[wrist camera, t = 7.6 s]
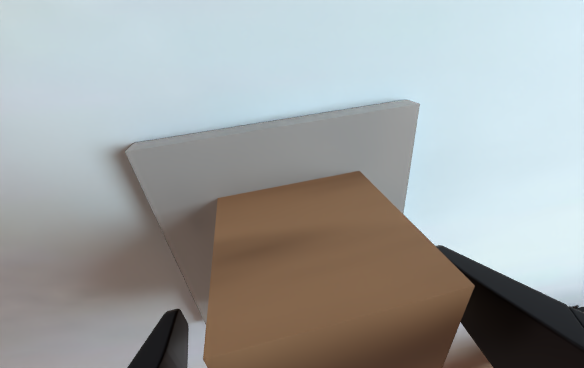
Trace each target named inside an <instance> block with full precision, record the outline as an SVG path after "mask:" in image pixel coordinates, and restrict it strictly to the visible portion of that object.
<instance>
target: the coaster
mask: <svg viewBox="0 0 584 368" xmlns="http://www.w3.org/2000/svg"><path fill="white" fill-rule="evenodd" d="M419 106H420V104H419V103H416V102H413V101H409V100H401V101H394V102H388V103H382V104H376V105H369V106H363V107H357V108H350V109H344V110H338V111H332V112H325V113H319V114H313V115H306V116H300V117H294V118H288V119H281V120H275V121H269V122H263V123H256V124H250V125H244V126H237V127H231V128H225V129H219V130H212V131H206V132H200V133H193V134H187V135H181V136H175V137H168V138H162V139H156V140H149V141H143V142H137V143H133V144H132V145H131V146H130V147H129V148H128V149H127V150H126V151H125V153H126V155H127V157H128V160H129V162H130V164H131V166H132V168H133V170H134V172H135V175H136V177H137V179H138V181H139V183H140V185H141V187H142V190H143V192H144V194H145V196H146V198H147V200H148V202H149V204H150V207H151V209H152V211H153V213H154V215H155V217H156V219H157V222H158V224H159V226H160V228H161V230H162V232H163V234H164V237H165V239H166V241H167V243H168V245H169V247H170V249H171V251H172V254H173V256H174V258H175V260H176V262H177V264H178V266H179V269H180V271H181V273H182V275H183V277H184V279H185V281H186V284H187V286H188V288H189V290H190V292H191V294H192V296H193V299H194V301H195V303H196V305H197V307H198V309H199V311H200V313H201V316H202V318H203V320H204V322H205V324H206V322H207V311H208V300H209V289H210V278H211V267H212V256H213V245H214V234H215V223H216V212H217V201H218V198H221V197H226V196H231V195H236V194H241V193H247V192H252V191H257V190H262V189H267V188H273V187H278V186H283V185H288V184H293V183H299V182H304V181H309V180H314V179H319V178H325V177H330V176H335V175H340V174H345V173H351V172H356V171H360V172H361V173H362V174H363V175H364V176H365V177H366V178H367V179H368V180H369V181H370V182H371V183H372V184H373V185H374V186H375V187H376V188H377V189H378V190H379V191H380V192H381V193H382V194H383V195H384V196H385V197H386V198H387V199H388V200H389V201H390V202H391V203H392V204H393V205H394V206H395V207H396V208H397V209H398V210H399V211H400V212H401V213H402V214H403V212H404V206H405V199H406V192H407V186H408V179H409V172H410V166H411V159H412V152H413V146H414V139H415V132H416V126H417V119H418V112H419Z"/></svg>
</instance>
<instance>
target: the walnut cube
mask: <svg viewBox="0 0 584 368" xmlns="http://www.w3.org/2000/svg"><path fill="white" fill-rule="evenodd" d="M474 287H475V285H474V284H473V283H472V282H471V281H470V280H469V279H468V278H467V277H466V276H465V275H464V274H463V273H462V272H461V271H460V270H459V269H458V268H457V267H456V266H455V265H454V264H453V263H452V262H451V261H450V260H449V259H448V258H447V257H446V256H445V255H444V254H443V253H442V252H441V251H440V250H439V249H438V248H437V247H436V246H435V245H434V244H433V243H432V242H431V241H430V240H429V239H428V238H427V237H426V236H425V235H424V234H423V233H422V232H421V231H419V230H418V229H417V228H416V227H415V226H414V225H413V224H412V223H411V222H410V221H409V220H408V219H407V218H406V217H405V216H404V215H403V214H402V213H401V212H400V211H399V210H398V209H397V208H396V207H395V206H394V205H393V204H392V203H391V202H390V201H389V200H388V199H387V198H386V197H385V196H384V195H383V194H382V193H381V192H380V191H379V190H378V189H377V188H376V187H375V186H374V185H373V184H372V183H371V182H370V181H369V180H368V179H367V178H366V177H365V176H364V175H363V174H362V173H361V172H360V171H356V172H351V173H345V174H340V175H335V176H330V177H325V178H319V179H314V180H309V181H304V182H299V183H293V184H288V185H283V186H278V187H273V188H267V189H262V190H257V191H252V192H247V193H241V194H236V195H231V196H226V197H221V198H218V201H217V212H216V223H215V234H214V245H213V256H212V267H211V278H210V289H209V300H208V311H207V322H206V334H205V345H204V356H203V360H204V362H205V364H206V366H207V367H208V368H442V367H443V364H444V362H445V359H446V357H447V354H448V352H449V349H450V347H451V344H452V342H453V339H454V337H455V334H456V332H457V329H458V327H459V324H460V322H461V319H462V317H463V314H464V312H465V309H466V307H467V304H468V302H469V299H470V297H471V294H472V292H473V289H474Z"/></svg>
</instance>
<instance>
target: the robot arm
mask: <svg viewBox="0 0 584 368" xmlns="http://www.w3.org/2000/svg"><path fill="white" fill-rule="evenodd" d="M436 247H437V248H438V249H439V250H440V251H441V252H442V253H443V254H444V255H445V256H446V257H447V258H448V259H449V260H450V261H451V262H452V263H453V264H454V265H455V266H456V267H457V268H458V269H459V270H460V271H461V272H462V273H463V274H464V275H465V276H466V277H467V278H468V279H469V280H470V281H471V282H472V283H473V284H474V285H475V287H474V289H473V292H472V294H471V297H470V299H469V302H468V304H467V307H466V309H465V312H464V314H463V317H462V319H461V323H462V325H463V326H464V328H465V329H466V330H467V332H468V333H469V334H470V336H471V337H472V339H473V340H474V341H475V343H476V344H477V346H478V347H479V348H480V350H481V351H482V352H483V354H484V355H485V357H486V358H487V359H488V361H489V362H490V363H491V365H492V366H493V368H584V307H580V308H577V309H575V308H572V307H570V306H569V307H568V306H567V305H566V304H564V303H562V302H560V301H558V300H555V299H553V298H551V297H549V296H547V295H545V294H543V293H541V292H539V291H537V290H534V289H532V288H530V287H528V286H526V285H524V284H522V283H520V282H518V281H515V280H513V279H511V278H509V277H507V276H505V275H503V274H501V273H499V272H497V271H494V270H492V269H490V268H488V267H486V266H484V265H482V264H480V263H478V262H476V261H473V260H471V259H469V258H467V257H465V256H463V255H461V254H459V253H457V252H455V251H452V250H450V249H448V248H446V247H444V246H441V245H438V246H436ZM187 360H188V323H187V321H186V319H185V317H184V315H183V313H182V312H181V310H180V309H174V310H170V311H167V312H166V313H165V314H164V315H163V316H162V318H161V319H160V321H159V322H158V324H157V325H156V327H155V328H154V330H153V331H152V333H151V334H150V335H149V337H148V338H147V340H146V341H145V343H144V344H143V346H142V347H141V349H140V350H139V351H138V353H137V354H136V356H135V357H134V359H133V360H132V362H131V363H130V365H129V366H128V367H127V368H187Z"/></svg>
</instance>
